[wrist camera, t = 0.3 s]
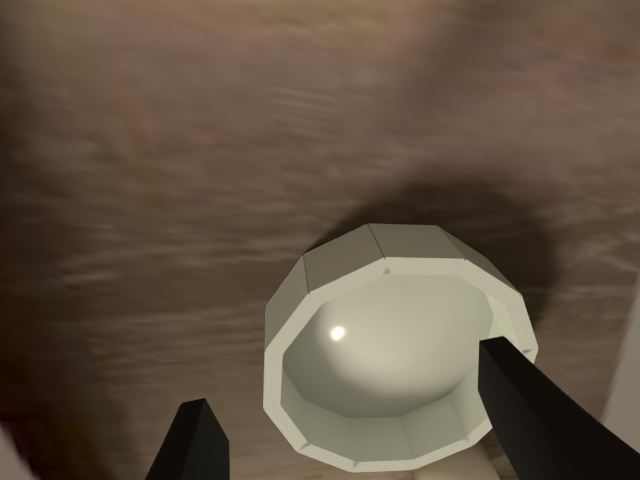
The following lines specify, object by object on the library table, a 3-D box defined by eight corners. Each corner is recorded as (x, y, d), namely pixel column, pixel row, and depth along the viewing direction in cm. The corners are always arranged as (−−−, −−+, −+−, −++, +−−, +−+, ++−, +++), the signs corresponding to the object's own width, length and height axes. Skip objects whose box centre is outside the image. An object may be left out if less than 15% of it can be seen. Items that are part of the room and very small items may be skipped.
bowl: (401, 445, 28) (417, 497, 25) (220, 368, 24) (212, 419, 21) (547, 297, 24) (588, 337, 21) (360, 175, 20) (376, 202, 17)
